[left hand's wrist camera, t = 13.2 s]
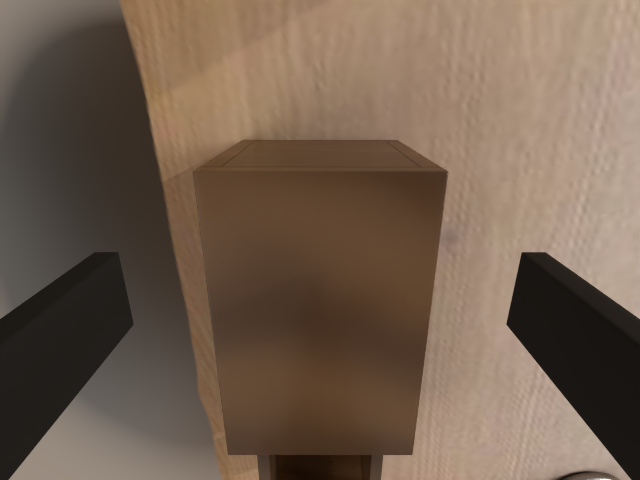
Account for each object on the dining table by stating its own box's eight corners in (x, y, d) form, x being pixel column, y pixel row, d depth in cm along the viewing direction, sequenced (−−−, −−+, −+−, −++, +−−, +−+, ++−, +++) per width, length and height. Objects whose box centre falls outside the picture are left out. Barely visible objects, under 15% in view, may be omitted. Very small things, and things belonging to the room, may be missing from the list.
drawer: (368, 478, 39) (383, 592, 30) (271, 477, 39) (256, 592, 30) (381, 291, 31) (406, 372, 22) (258, 291, 31) (233, 372, 22)
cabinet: (383, 339, 34) (412, 455, 23) (257, 339, 33) (227, 455, 23) (398, 140, 27) (448, 171, 16) (242, 139, 27) (192, 171, 16)
